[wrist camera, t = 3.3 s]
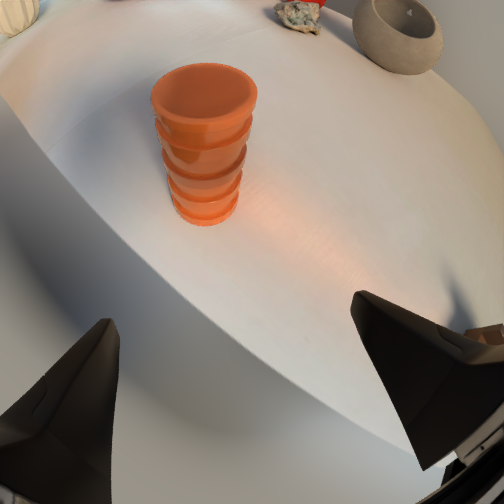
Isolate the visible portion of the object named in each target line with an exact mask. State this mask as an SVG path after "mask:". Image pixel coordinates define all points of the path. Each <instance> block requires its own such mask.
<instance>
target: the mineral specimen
mask: <svg viewBox="0 0 504 504" xmlns="http://www.w3.org/2000/svg"><path fill="white" fill-rule="evenodd" d="M274 9H276V12H275V14H277V15H278V17H279V18H280V19H281V21H282V22H283V24H284V25H285V26H287V27H290V28H292V29H294V30H296V31H297V30H300V31H302V32H305V33H307V32H309V31H313V32H314V33H315V34H316V35H318V34H319V31H320V29H321V27H320V25H318V19H319V18H320V14H319V12H320V11H319V10H320V6H319V4H318V3H314V2H310V3H309V2H302V1H298V0H293V1H290V2H285V3H277V4H276V6H274Z"/></svg>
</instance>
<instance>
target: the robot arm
mask: <svg viewBox="0 0 504 504" xmlns="http://www.w3.org/2000/svg"><path fill="white" fill-rule="evenodd" d="M350 312H351V316H352V318H353V321H354V323H355V325H356V328H357V330H358V333H359V335H360V338H361V341H362V343H363V345H364V347H365V349H366V351H367V353H368V355H369V357H370V359H371V361H372V363H373V365H374V367H375V369H376V371H377V373H378V375H379V377H380V379H381V381H382V383H383V385H384V387H385V389H386V391H387V393H388V395H389V397H390V399H391V401H392V403H393V405H394V407H395V409H396V412H397V414H398V416H399V418H400V420H401V422H402V424H403V427H404V429H405V431H406V434H407V436H408V438H409V440H410V443H411V445H412V447H413V450H414V452H415V454H416V457H417V459H418V461H419V464H420V466H421V468H422V470H423V471H425V470H426V469H428V468H430V467H431V466H433V465H434V464H436V463H437V462H439V461H440V460H442V459H443V458H444V457H446V456H447V455H449V454H450V453H451V452H453V451H455V453H456V455H457V456H458V458H457V459H455V460H454V461H453V462H451V463H450V464H449V465H447V466H446V469H445V473H444V476H443V480H442V483H441V487H440V488H439V489H437V490H436V491H434V492H433V493H431V494H430V495H428V496H427V497H425V498H424V499H422V500H421V501H419V502H417V503H416V504H504V344H503V345H497V346H491V345H487V344H484V343H481V342H479V341H476V340H473V339H471V338H468V337H466V336H463V335H461V334H458V333H456V332H453V331H451V330H449V329H447V328H445V327H442V326H440V325H438V324H435V323H434V322H432V321H430V320H428V319H425V318H423V317H421V316H419V315H417V314H415V313H413V312H411V311H408V310H406V309H404V308H402V307H400V306H398V305H396V304H393V303H391V302H389V301H387V300H385V299H383V298H381V297H378V296H376V295H374V294H372V293H370V292H368V291H365V290H362V291H357V292H355V293H354V296H353V300H352V304H351V308H350ZM119 349H120V337H119V334H118V331H117V329H116V326H115V324H114V321H113V320H112V319H111V318H104V319H101V320H100V321H98V322H97V323H96V324H95V325H94V326H93V327H92V328H91V329H90V330H89V331H88V332H87V333H86V334H85V335H84V336H83V337H82V338H80V340H78V342H76V343H75V344H74V345H73V346H72V347H71V348H70V349H69V350H68V351H67V352H66V353H65V354H64V355H63V356H62V357H61V358H60V359H59V360H58V361H57V362H56V363H55V364H54V365H53V366H52V367H51V368H50V369H49V370H48V371H47V372H46V373H45V376H42V377H41V378H40V380H39V381H38V382H37V383H36V384H35V385H34V386H33V387H32V388H31V389H30V390H28V391H27V392H26V394H24V395H23V396H22V397H21V398H20V399H19V400H18V401H17V402H15V403H14V404H13V405H12V406H11V407H10V408H9V409H8V410H6V411H5V412H4V413H3V414H2V415H1V416H0V504H112V498H111V480H110V479H111V454H112V453H111V452H112V435H113V421H114V411H115V401H116V392H117V384H118V374H119Z"/></svg>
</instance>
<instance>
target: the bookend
mask: <svg viewBox="0 0 504 504" xmlns="http://www.w3.org/2000/svg"><path fill="white" fill-rule="evenodd" d="M464 336H466V337H468V338H471V339H473V340H476V341H479V342H481V343H484V344H487V345H491V346H497V345H503V344H504V325H503V323H502V324H497V325H492V326H487V327H482V328H476V329H470V330H466V332H465V334H464Z"/></svg>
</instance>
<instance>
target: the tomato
mask: <svg viewBox="0 0 504 504" xmlns="http://www.w3.org/2000/svg"><path fill="white" fill-rule="evenodd" d="M287 1H288V2H290V1H293V0H287ZM298 1H302V2H309V3H310V2H314V3H318V4H319V6H320V8H321V7H322V6H323V5H324V4H325V1H326V0H298Z"/></svg>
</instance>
